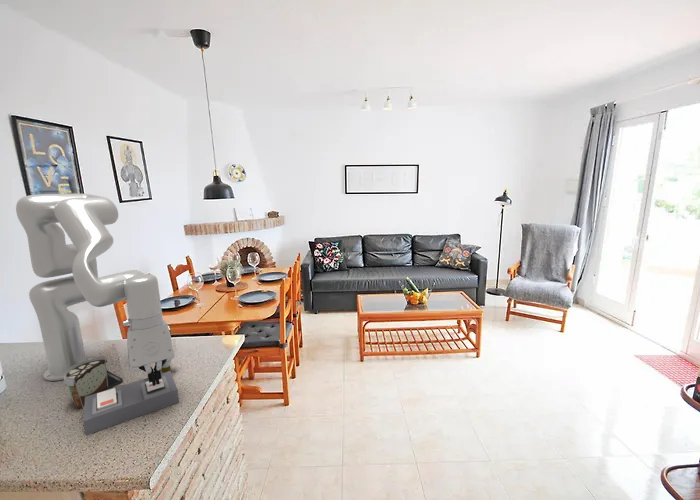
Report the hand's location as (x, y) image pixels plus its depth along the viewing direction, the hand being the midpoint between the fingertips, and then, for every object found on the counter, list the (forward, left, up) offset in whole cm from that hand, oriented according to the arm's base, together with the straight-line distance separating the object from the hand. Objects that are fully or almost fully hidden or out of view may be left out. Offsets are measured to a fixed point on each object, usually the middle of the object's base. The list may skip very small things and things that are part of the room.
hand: (155, 382), depth 91 cm
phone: (-25, -14, -8) cm, 30 cm away
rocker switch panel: (-4, -6, -7) cm, 10 cm away
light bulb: (-17, +4, -8) cm, 20 cm away
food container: (-17, -17, -8) cm, 25 cm away
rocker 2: (-2, 0, -2) cm, 3 cm away
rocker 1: (-2, -11, -2) cm, 11 cm away
